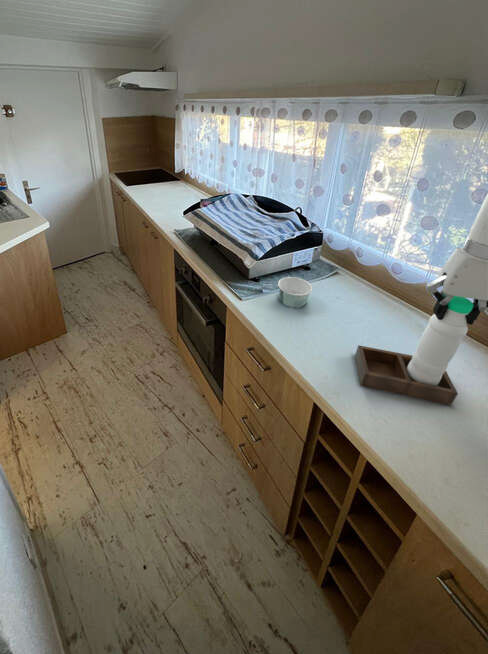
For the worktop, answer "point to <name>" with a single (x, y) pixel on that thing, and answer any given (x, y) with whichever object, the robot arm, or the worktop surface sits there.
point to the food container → (294, 291)
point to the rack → (399, 376)
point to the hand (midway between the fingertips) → (452, 317)
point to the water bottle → (440, 342)
